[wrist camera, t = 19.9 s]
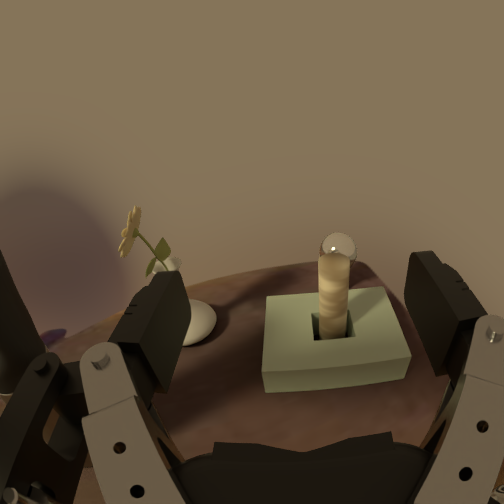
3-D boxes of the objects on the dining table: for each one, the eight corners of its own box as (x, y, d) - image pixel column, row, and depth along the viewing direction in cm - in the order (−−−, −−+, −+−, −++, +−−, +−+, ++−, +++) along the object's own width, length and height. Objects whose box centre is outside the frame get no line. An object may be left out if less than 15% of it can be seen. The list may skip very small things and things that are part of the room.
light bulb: (327, 304, 54) (327, 246, 48) (314, 284, 60) (312, 230, 54) (361, 295, 55) (364, 238, 49) (345, 276, 61) (346, 223, 55)
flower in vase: (177, 306, 60) (141, 187, 48) (228, 313, 56) (199, 182, 44) (142, 350, 49) (87, 220, 37) (197, 365, 45) (146, 219, 33)
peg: (319, 358, 43) (320, 271, 35) (317, 339, 47) (316, 254, 39) (345, 355, 43) (352, 268, 35) (342, 337, 46) (346, 251, 38)
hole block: (265, 392, 39) (261, 371, 37) (269, 318, 53) (266, 296, 51) (403, 378, 36) (411, 356, 34) (380, 308, 50) (383, 286, 48)
